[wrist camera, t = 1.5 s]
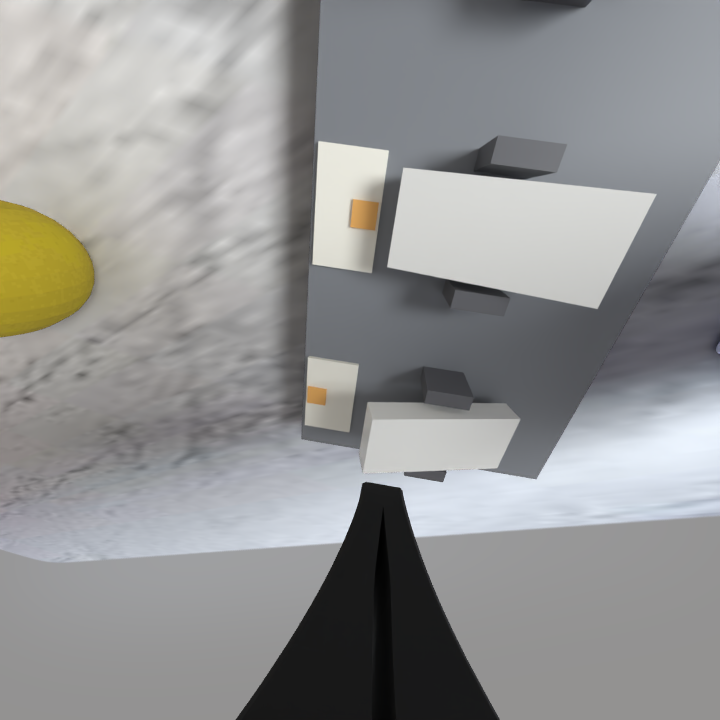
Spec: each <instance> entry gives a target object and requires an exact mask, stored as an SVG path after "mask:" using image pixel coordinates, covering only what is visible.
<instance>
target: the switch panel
mask: <svg viewBox="0 0 720 720" xmlns="http://www.w3.org/2000/svg"><path fill="white" fill-rule="evenodd" d="M719 161H720V0H320V23H319V46H318V69H317V92H316V115H315V138H314V161H313V184H312V207H311V230H310V253H309V276H308V299H307V322H306V345H305V369H304V392H303V415H302V438H301V439H304V440H310V441H316V442H321V443H327V444H333V445H339V446H345V447H351V448H357V449H360V444H361V438H362V432H363V426H364V420H365V414H366V408H367V402H411V403H425V404H431V405H437V406H443V407H449V408H456V409H462V410H468V411H469V410H470V407H471V404H472V403H506V404H507V405H508V406H509V407H510V408H511V409H512V410H513V412H514V413H515V414H516V415H517V416H518V417H519V418H520V422H519V424H518V426H517V428H516V430H515V432H514V434H513V436H512V438H511V440H510V442H509V445H508V447H507V449H506V451H505V453H504V455H503V457H502V459H501V461H500V463H499V466H498V468H493V469H479V470H485V471H491V472H497V473H503V474H509V475H514V476H520V477H526V478H532V479H537V477H538V475H539V473H540V472H541V470H542V468H543V466H544V465H545V463H546V461H547V459H548V458H549V456H550V454H551V453H552V451H553V449H554V447H555V446H556V444H557V442H558V440H559V439H560V437H561V435H562V433H563V432H564V430H565V428H566V427H567V425H568V423H569V421H570V420H571V418H572V416H573V414H574V413H575V411H576V409H577V407H578V406H579V404H580V402H581V401H582V399H583V397H584V395H585V394H586V392H587V390H588V388H589V387H590V385H591V383H592V381H593V380H594V378H595V376H596V374H597V373H598V371H599V369H600V368H601V366H602V364H603V362H604V361H605V359H606V357H607V355H608V354H609V352H610V350H611V348H612V347H613V345H614V343H615V342H616V340H617V338H618V336H619V335H620V333H621V331H622V329H623V328H624V326H625V324H626V322H627V321H628V319H629V317H630V315H631V314H632V312H633V310H634V309H635V307H636V305H637V303H638V302H639V300H640V298H641V296H642V295H643V293H644V291H645V289H646V288H647V286H648V284H649V283H650V281H651V279H652V277H653V276H654V274H655V272H656V270H657V269H658V267H659V265H660V263H661V262H662V260H663V258H664V256H665V255H666V253H667V251H668V250H669V248H670V246H671V244H672V243H673V241H674V239H675V237H676V236H677V234H678V232H679V230H680V229H681V227H682V225H683V224H684V222H685V220H686V218H687V217H688V215H689V213H690V211H691V210H692V208H693V206H694V204H695V203H696V201H697V199H698V197H699V196H700V194H701V192H702V191H703V189H704V187H705V185H706V184H707V182H708V180H709V178H710V177H711V175H712V173H713V171H714V170H715V168H716V166H717V165H718V163H719ZM403 168H412V169H422V170H432V171H441V172H451V173H460V174H470V175H479V176H489V177H499V178H508V179H518V180H527V181H537V182H546V183H556V184H566V185H575V186H585V187H594V188H604V189H613V190H623V191H633V192H642V193H652V194H657V195H656V197H655V199H654V200H653V202H652V204H651V206H650V208H649V210H648V212H647V214H646V216H645V218H644V220H643V222H642V224H641V226H640V228H639V229H638V231H637V233H636V235H635V237H634V239H633V241H632V243H631V245H630V247H629V249H628V251H627V253H626V255H625V257H624V259H623V260H622V262H621V264H620V266H619V268H618V270H617V272H616V274H615V276H614V278H613V280H612V282H611V284H610V286H609V288H608V290H607V291H606V293H605V295H604V297H603V299H602V301H601V303H600V305H599V307H598V309H595V308H590V307H585V306H580V305H575V304H570V303H565V302H560V301H555V300H550V299H545V298H540V297H535V296H530V295H525V294H520V293H515V292H510V291H505V290H499V289H494V288H489V287H484V286H479V285H474V284H469V283H464V282H459V281H454V280H449V279H444V278H439V277H434V276H429V275H424V274H419V273H414V272H409V271H404V270H399V269H394V268H389V267H387V265H388V259H389V252H390V246H391V240H392V234H393V228H394V222H395V216H396V209H397V203H398V197H399V191H400V185H401V179H402V173H403ZM445 475H446V470H443V471H418V472H404V476H410V477H415V478H421V479H427V480H433V481H439V482H443V480H444V478H445Z"/></svg>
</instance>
